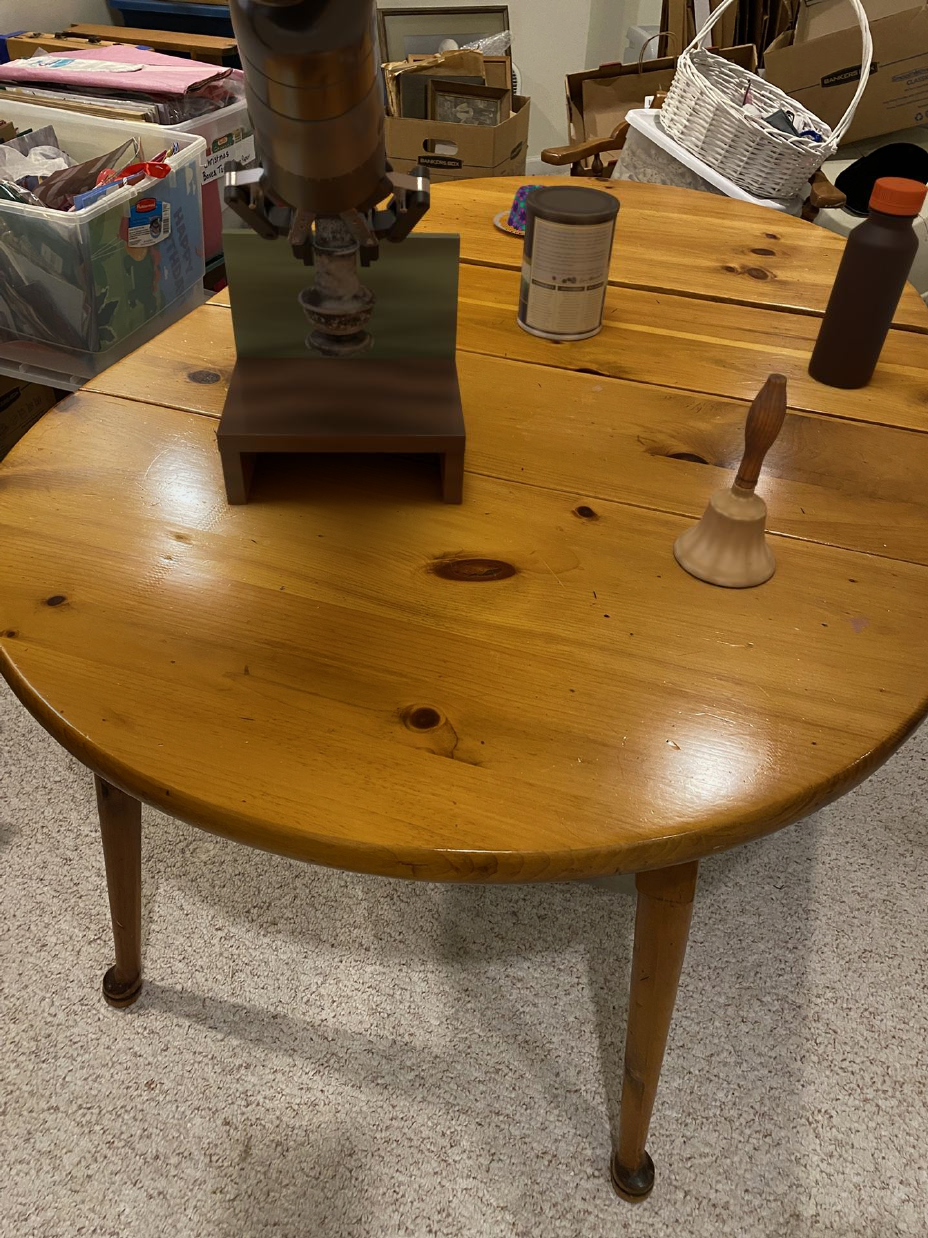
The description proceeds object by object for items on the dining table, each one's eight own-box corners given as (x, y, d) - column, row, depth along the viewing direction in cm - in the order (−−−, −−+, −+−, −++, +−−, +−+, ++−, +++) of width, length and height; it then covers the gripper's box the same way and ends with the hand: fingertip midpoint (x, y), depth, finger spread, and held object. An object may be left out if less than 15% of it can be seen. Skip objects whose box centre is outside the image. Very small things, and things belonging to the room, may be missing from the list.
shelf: (462, 507, 80) (472, 303, 68) (226, 507, 78) (195, 298, 66) (452, 420, 91) (459, 232, 79) (246, 419, 89) (222, 227, 78)
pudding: (568, 245, 130) (572, 206, 127) (485, 235, 132) (487, 196, 129) (579, 219, 139) (584, 182, 136) (502, 210, 141) (504, 173, 138)
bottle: (873, 393, 100) (945, 197, 87) (809, 384, 100) (870, 190, 87) (866, 366, 105) (932, 177, 92) (804, 358, 105) (861, 170, 92)
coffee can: (499, 315, 111) (507, 191, 102) (567, 300, 115) (581, 180, 106) (550, 348, 105) (564, 219, 95) (620, 331, 109) (640, 206, 100)
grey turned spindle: (388, 333, 73) (386, 170, 65) (361, 363, 69) (356, 193, 61) (319, 321, 74) (309, 160, 66) (288, 350, 70) (274, 181, 62)
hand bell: (713, 516, 80) (759, 341, 70) (795, 562, 76) (858, 382, 65) (652, 551, 76) (692, 371, 65) (735, 602, 71) (792, 417, 61)
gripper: (442, 53, 53) (431, 209, 70) (190, 43, 52) (241, 203, 69) (443, 179, 52) (431, 305, 69) (189, 171, 51) (241, 301, 68)
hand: (337, 254), depth 69 cm, fingers closed on grey turned spindle, 3 cm apart
